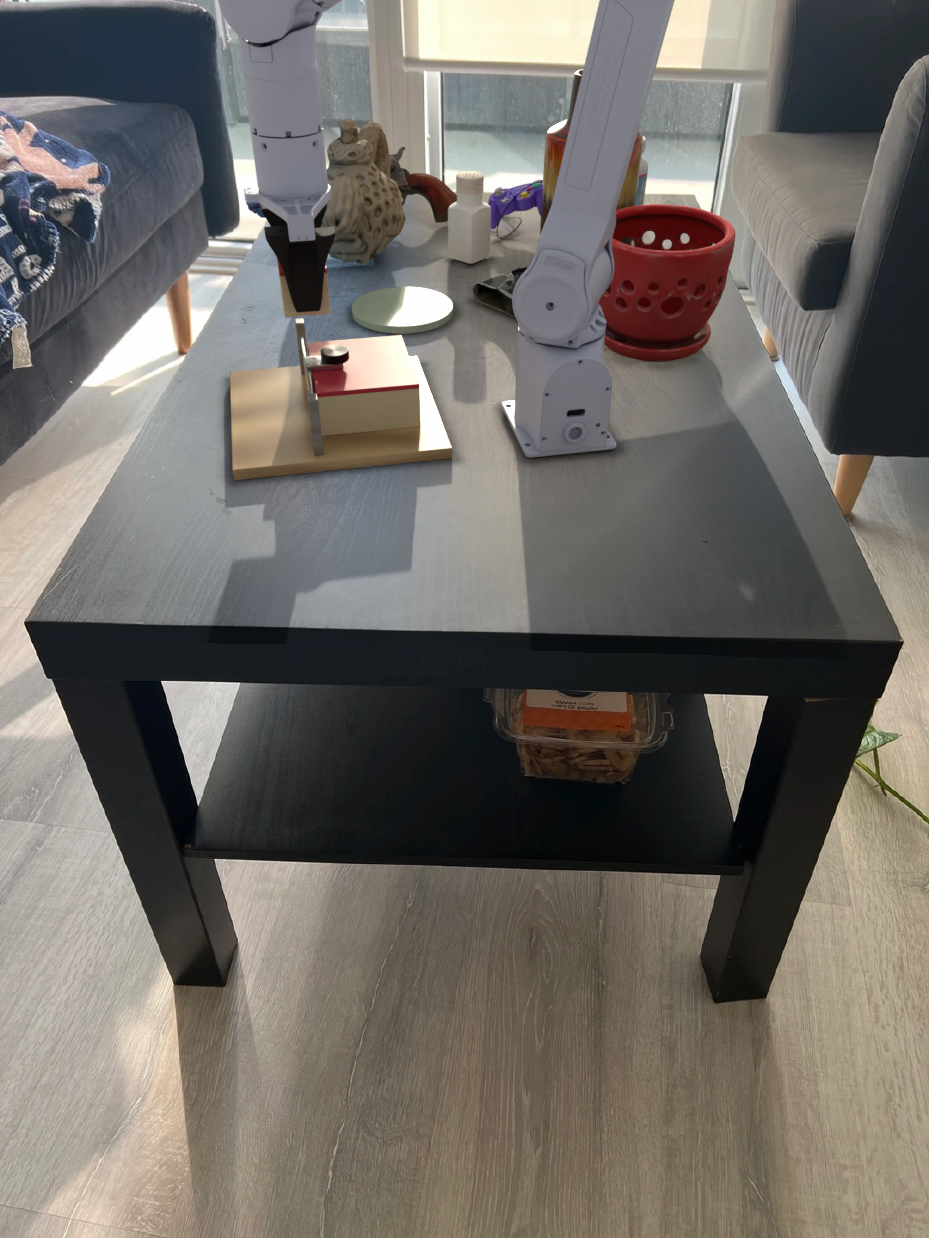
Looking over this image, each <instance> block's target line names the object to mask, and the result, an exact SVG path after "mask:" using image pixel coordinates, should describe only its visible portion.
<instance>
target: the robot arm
mask: <svg viewBox="0 0 929 1238" xmlns="http://www.w3.org/2000/svg"><path fill="white" fill-rule="evenodd" d="M217 1H218V6H219V8H220V12H221V13H222V14H221V15H223V17H224V19H225V21H226V23H227V24H228V26H229V27H230V28H231V29H232V30H233V32H234V33H235V34H237V40H238V47H239V48H238V49H239V56H240V63H241V69H242V71H241V72H242V78H243V85H244V92H245V100H246V108H247V116H248V123H249V130H250V139H251V144H252V154H253V159H254V166H255V174H256V183H257V186H248V187H245V188H244V189H243V192H244V200H245V203H246V202H248V203H256V202H257V203H260V204H261V210H262V213H263V214H264V216H265V218H264V219H266V221H267V223H268V225H269V226H264V227H263V230H264V236H265V240H266V242H267V245H268V246H269V247H270V249H271V250H272V252H273V253H274V255H275V257H276V260H277V259H278V261H279V263H280V265H281V267H282V270H283V272H284V275H285V278H286V282H287V286H288V289H289V293H290V296H291V299H292V302H293V305H294V308H295V310H296V312H311V311H319V310H320V308H321V302H322V294H323V281H324V271H325V265H326V266H327V262H328V258H329V255H330V254H329V251H330V249H331V247H332V244H333V242H334V238H335V230H334V227H321V224H322V220H323V217H324V214H325V212H326V209H327V202H328V201H329V200H330V198H331V187H330V185H329V184H328V180H327V169H328V168H327V158H326V157H327V156H326V147H325V145H326V144H325V135H324V127H323V115H322V102H321V94H320V93H321V89H320V79H319V65H318V58H317V42H316V41H317V39H316V29H317V25H318V23H319V21H320V20H321V18H322V16H323V14H324V12H326V11H328V10H330V9H331V8H333V7H334V6H336V5H337V4H339V3H341V2H342V1H343V0H217ZM675 1H676V0H599V1H598V5H597V9H596V13H595V17H594V18H595V19H594V21H593V22H594V23H593V27H592V30H591V36H590V39H589V44H588V48H587V53H586V57H585V61H584V65H583V73H582V78H581V82H580V86H579V90H578V95H577V99H576V103H575V108H574V112H573V116H572V120H571V125H570V129H569V133H568V137H567V142H566V146H565V150H564V155H563V159H562V163H561V167H560V172H559V176H558V180H557V185H556V189H555V193H554V197H553V202H552V206H551V209H550V211H549V214H548V216H547V219H546V221H545V224H544V226H543V229H542V231H541V234H540V233H539V237H538V238H537V239H538V240H537V242H536V246H535V251H534V255H533V257H532V260H531V262H530V264H529V266H527V267H528V268H527V270H526V271H525V272H524V273H523V274H522V275H521V277H520V278H519V279H518V281H517V283H516V285H515V287H514V291H513V296H512V305H513V311H514V315H515V317H516V318H515V317H514V318H515V319H516V322H517V326H518V327H517V342H516V343H517V344H516V345H517V346H516V368H515V391H514V400H504V401H502V402H501V409H502V411H503V413H504V415H505V418H506V419H507V422H508V424H509V426H510V428H511V430H512V432H513V434H514V436H515V438H516V440H517V442H518V444H519V446H520V448H521V451H522V452H523V454H524V455H525V457H527V458H541V457H548V456H549V457H550V456H561V455H569V454H579V453H589V452H599V451H609V450H614V449H616V448H617V441H616V440H615V438H614V437H613V436H612V433H611V432H610V431H609V421H610V412H611V405H612V396H613V386H614V385H613V377H612V373H611V371H610V369H609V367H608V365H607V363H606V360H605V356H604V348H605V345H604V340H605V330H606V319H605V318H604V314H603V311H602V308H601V306H600V305H599V300H600V298H601V296H602V295H603V294H604V293H605V291H606V290H607V289H608V287H609V286H610V283H611V281H612V279H613V275H614V258H613V253H612V237H613V233H614V229H615V226H616V208H617V204H618V200H619V197H620V193H621V190H622V186H623V183H624V179H625V175H626V172H627V168H628V165H629V161H630V158H631V154H632V151H633V147H634V143H635V140H636V136H637V133H638V130H640V125H641V122H642V119H643V115H644V111H645V107H646V104H647V100H648V97H649V94H650V93H649V92H650V90H651V86H652V83H653V79H654V76H655V72H656V69H657V64H658V62H659V58H660V54H661V51H662V47H663V44H664V40H665V36H666V33H667V30H668V25H669V22H670V18H671V15H672V11H673V8H674V4H675Z"/></svg>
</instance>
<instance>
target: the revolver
mask: <svg viewBox="0 0 929 1238" xmlns="http://www.w3.org/2000/svg"><path fill="white" fill-rule="evenodd" d="M405 150H406V146H401V147H400V148H399V149H398V151H397V153H393V154H389V162H390V174H391V179H392V180H393V181H395V182H396V183H397V185H398V188H399V190H400V192H401V194H402V197H401V201H402V207H404V205H405V203H406V200H407V197H408V196H414V195H420V196H422V197H423V198H424V199H425V200H426V201H427V202H428V204H429V206H430V208H431V211H432V215H433V220H434V222H435V223H437V224H439V223H447V222H448V208H449V206H450V205H451V204H453V203H454V202H457V193H456V192H455V191H453V190H452V188H450V187H449V186H448V185H447V184H446V183H445V182H444V181H442V180H441V179H440V178H438V177H436V176H434V175H431V174H429V173H422V172H418V173H417V172H414V173H411V172H410V170H407V168H403V167H401V164H400V161H401V159H402V157H403V153H404V151H405Z"/></svg>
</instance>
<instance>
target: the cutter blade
mask: <svg viewBox="0 0 929 1238" xmlns="http://www.w3.org/2000/svg"><path fill="white" fill-rule="evenodd" d="M301 345H302V353H303V362H304V371H305V378H306V384H307V390H308V394H312V388H311V382H310V376H309V372H311V371H323V370H334V369H344V365H343V363H345V362H347V361H348V360H349V350H348V348H347V347H345V346H342V345H329V346H326V347H323V348H322V349H321V351H320V353H321V355H320V356H308V357H306V353H305V347H304V341H303V338H301Z"/></svg>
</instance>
